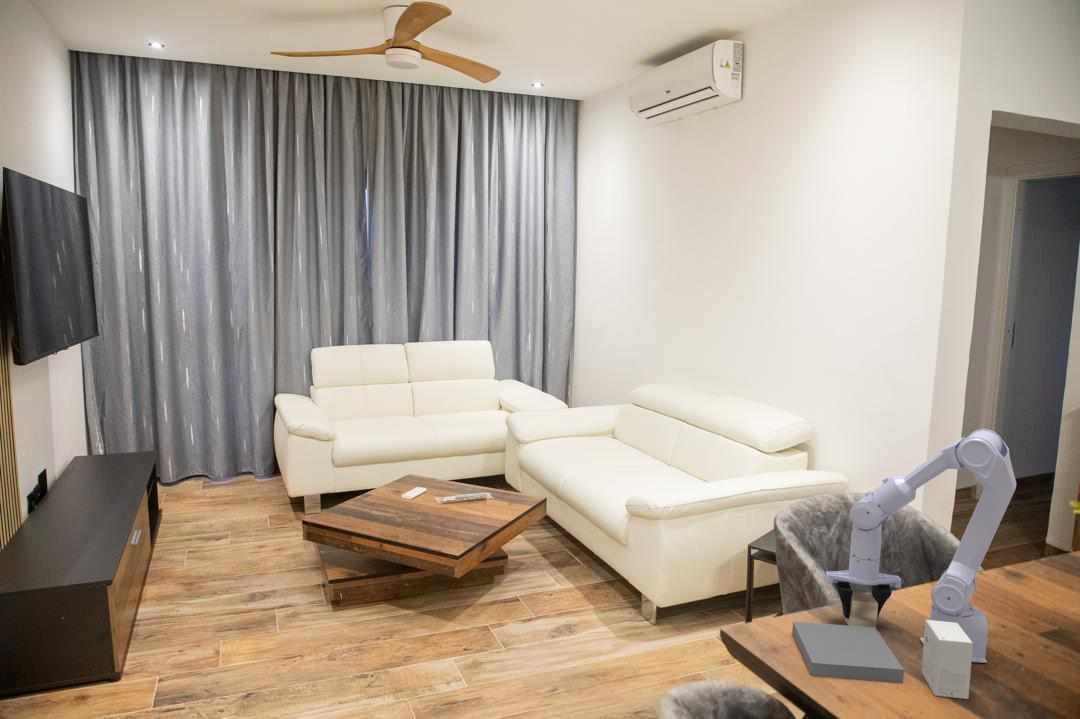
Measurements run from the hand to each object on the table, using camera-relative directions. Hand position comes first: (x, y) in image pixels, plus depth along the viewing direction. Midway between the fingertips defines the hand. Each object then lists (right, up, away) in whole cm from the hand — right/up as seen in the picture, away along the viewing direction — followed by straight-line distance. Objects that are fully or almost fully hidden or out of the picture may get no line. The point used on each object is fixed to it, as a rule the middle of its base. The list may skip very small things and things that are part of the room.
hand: (860, 617), depth 157 cm
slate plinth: (-9, -3, -13) cm, 16 cm away
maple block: (0, -2, 0) cm, 2 cm away
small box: (+5, -5, -22) cm, 23 cm away
